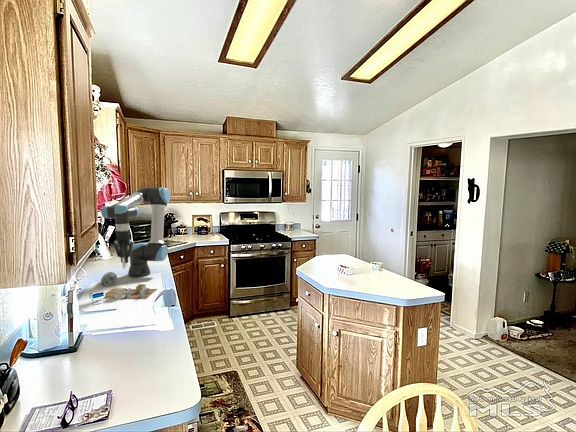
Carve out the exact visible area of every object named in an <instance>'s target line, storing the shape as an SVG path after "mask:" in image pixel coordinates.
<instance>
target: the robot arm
mask: <svg viewBox="0 0 576 432" xmlns="http://www.w3.org/2000/svg"><path fill="white" fill-rule="evenodd" d="M170 202H171V193H170V191H169V189H168V188H167V187H162V186H161V187H159V186H158V187H154V186H153V187H147V186H146V187H143V188H140V189H138V190H135V191H134V192H132V193H131V194H130V195H129V196H127V197H125V198H124V199H122V200H120V201H117V202H116V203H114V204H113V205H110V206H109V205H107V206H103V207H102V208H101V210H100V211H101V212H100V213H101V217H102V218H105V219H114V220H115V234H116V235H115V237H116V238H115V240H114V241H112V244H113V246H114V249H115V252H116V256H117V257H119V258H120V263H121V265H122V269H127V268H128V262H129V265H130V266H129V269H128V272H127V273H128V274H127V275H128V277H129V276H130V278H142V277H143V278H144V277H146V276H147V277H148V276H150V275H151V269H150V267H149V264H148V262H164V261H165V260H166V258H167V256H168V254H169V248H168V246H167V245H166V242H165V241H164V231H165V230H164V228H165V227H164V226H165V209H166V208H167V207H168V204H169V203H170ZM142 204H150V205H149V206H150V207H151V209H152V210H151V223H150V224H151V227H150V239H149V241H148V242H138V243H135V241H134V240H131V237H130V235H131V234H130V232H131V231H130V220H131V219H135V218H137V217H139V216H140V214H141V211H140V208H139V207H138V205H142Z"/></svg>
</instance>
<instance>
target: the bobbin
mask: <svg viewBox="0 0 576 432" xmlns="http://www.w3.org/2000/svg"><path fill="white" fill-rule="evenodd" d="M127 287H128V286H127V285H125V284H123V285H122V284H120V285H116V286H114V287H113V289H114V290H116V293H117V295H115V296H114V298H115V299H114V300H124V299H123V298H126V295H125V289H128V288H127Z"/></svg>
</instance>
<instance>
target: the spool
mask: <svg viewBox="0 0 576 432" xmlns="http://www.w3.org/2000/svg"><path fill="white" fill-rule="evenodd" d="M117 279H118V275H117V274H116V273H115V272H113V271H108V272H106V273H105V274H103V276H102V277H101V279H100V283H101V285H103V286H104V287H109V286H113V285H114V284H115V282H116V281H117Z"/></svg>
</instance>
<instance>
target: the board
mask: <svg viewBox="0 0 576 432" xmlns="http://www.w3.org/2000/svg"><path fill="white" fill-rule="evenodd" d="M128 290H129V288H126V289H125V292H127V291H128ZM157 290H158V288H149V294H147V295H145V296H143V297H142V298H140V297H139V293H136V288H131V296H130V297H128V298H123V299H122V300H147V299H148V298H149V297H150V296H152V294H154V293H155V292H157ZM104 294H105V297H104V298H103V299H102V300H116V299H115V298H114V296H115V295H117V293H116V290H114V288H112V289H110V290H108V291H107V292H105V293H104Z"/></svg>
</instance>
